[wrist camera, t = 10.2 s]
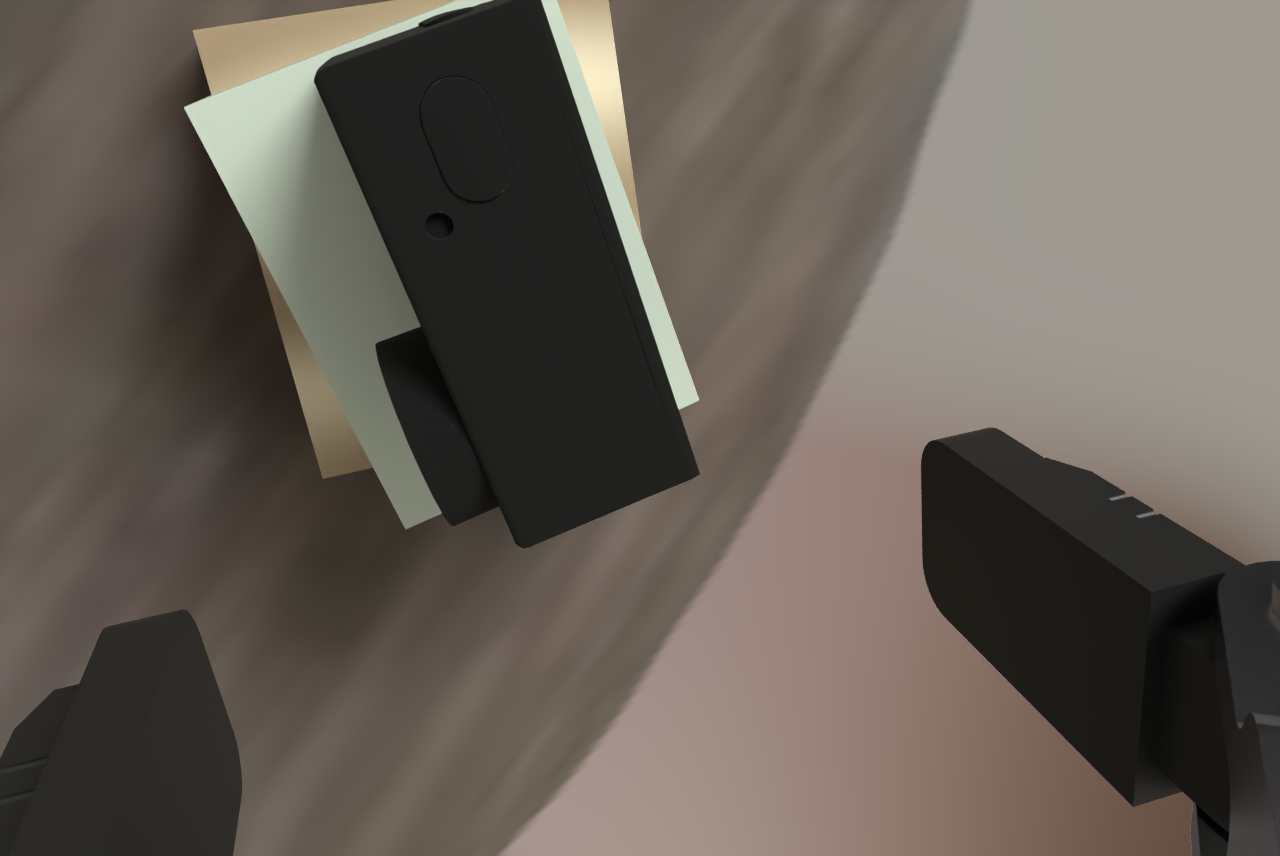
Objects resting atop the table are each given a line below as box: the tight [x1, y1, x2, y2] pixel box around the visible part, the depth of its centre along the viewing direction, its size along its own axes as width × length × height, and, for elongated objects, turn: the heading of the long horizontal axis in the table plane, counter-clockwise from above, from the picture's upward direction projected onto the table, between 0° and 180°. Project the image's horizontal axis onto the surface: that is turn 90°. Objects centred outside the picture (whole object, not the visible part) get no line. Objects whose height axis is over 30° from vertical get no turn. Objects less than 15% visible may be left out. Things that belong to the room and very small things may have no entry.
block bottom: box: [193, 0, 642, 479], centre depth 32 cm, size 13×11×4 cm
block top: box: [184, 0, 699, 529], centre depth 28 cm, size 12×9×4 cm
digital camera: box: [314, 0, 700, 548], centre depth 23 cm, size 10×5×7 cm, turn 18°
